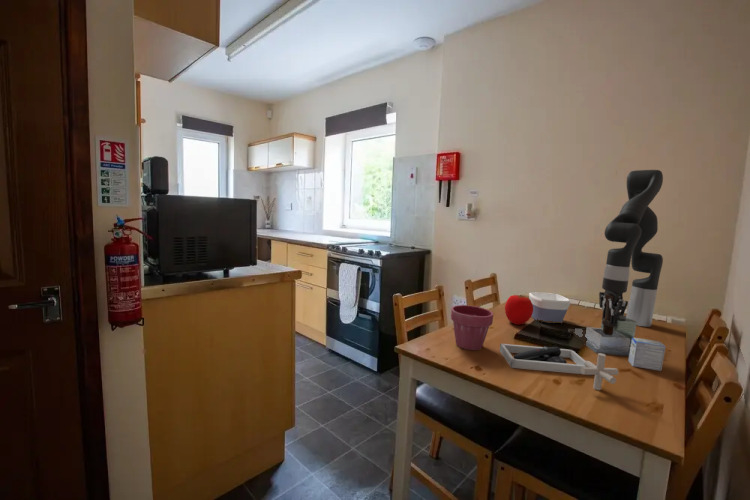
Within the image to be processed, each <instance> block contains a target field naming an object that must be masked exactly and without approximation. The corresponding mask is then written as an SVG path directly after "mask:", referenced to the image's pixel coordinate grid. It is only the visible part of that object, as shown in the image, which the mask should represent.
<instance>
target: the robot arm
mask: <svg viewBox="0 0 750 500" xmlns="http://www.w3.org/2000/svg"><path fill="white" fill-rule="evenodd" d="M663 175H664V174H663V172H662V171H661V170H659V169H641V170H639V169H638V170H631V171H629V173H628V174H627V177H626V191H627V198H628V200H627V201H626V202H625V203H624V204H623V205H622V207H621V210H620V211H619V214H618V215H616V216H615V217H614V219H612V220H611V221H610V222H608V224H607V226H606V227H605V229H604V233H603V234H604V237H605V239H606V240H607V241H609V242H614V243H622V244H623V243H624V244H625V245H624V246H622V247H619V248H617V247H616V248H610V249H609V250H608V251H607V257H606V263H605V267H604V271H603V278H602V286H601V288H602V289H603V290H604V291H600V292H599V293H598V296H599V301H598V302H599V304H598V305H599V308H601V310H602V315H601V320H602V319H603V318H605V311H606V305H607V299H606V298H604V297H605V293H608V294H610V295H613V296H614V300H611V297H610V299H608V300H609V308H610V309H611V317H610V325H611V326H617V322H618V317H619V316H623V315H624V316H626V318H629V319H631V320H634V321H636V322H637V323H636V326H638V327H645V328H650V327H652V323H653V318H654V310H655V305H656V298H657V292H658V286H659V281H660V276H661V271H662V267H663V263H664V262H663V261H664V257H663V255H662V254H659V253H652V252H645V251H642V250H643V248H644V247H645V246H646V244H647V243H649V242H650V241H651V240H652V239H653V238H654V237H655V236H656V235H657V232H658V230H659V229H658V227H659V226H658V217H657V215H656V213H655V211H653V210H652V208H650V206H649V205H650V204H651V203H652V202H653V200H654V199H655V198H656V196H657V195H658V194H659V192H660V191H661V188H662V186H663V184H664V183H663V182H664V176H663ZM630 267H631V268H632V270H633V271H634V272H635V271H636V272H638V273H645V274H649V276H647V277H643V278H637V279H636V278H635V279H633V281H632V283H631V290H630V297H629V300H628V301H627V300H624V296H623V294H625V293H627V292H628V285H629V279H630ZM614 306H617V307H614ZM614 309H616V310H615V312H614ZM625 312H626V315H625Z"/></svg>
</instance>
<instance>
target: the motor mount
mask: <svg viewBox="0 0 750 500" xmlns="http://www.w3.org/2000/svg"><path fill="white" fill-rule="evenodd" d="M636 323H637V322H636V321H634V320H631V319H629V318H626V315H625V314H624V315H623V316H619V317H618V322H617V326H616V327H614V328H613V335H606V334H604V333H603V324H602V323H601V325H600V327H592V326H591V327H589V326H587V327H586V334H585V337H586V338H587V341H586V345H585V346H586V347H588V348H589V349H590V350H591V351H592V352H594V353H595V354H598V353H602V354H605V355H612V356H613V355H615V356H625V357H627V356H628V357H629V353H630V347H631V341H632V338H635V334H636V330H637V329H636V328H637V325H636ZM574 328H575V327H574ZM582 329H583V328H575V332H574V333H575V334H576V335H578V336H579V337H582V336H583V334H582V332H583V330H582Z"/></svg>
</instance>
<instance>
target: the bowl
mask: <svg viewBox="0 0 750 500" xmlns="http://www.w3.org/2000/svg"><path fill="white" fill-rule="evenodd" d="M528 297H529V299H530V300H531V302H532V304H533V314H532V316H531V318H532V319H534V320H535V321H537V319H538V320H543V321H553V322H561V324H562V323H563V321H564V319H565V316H566V314H567V311H568V310H569V307H570V305H571V301H570V299H569V298H567V297H565V296H563V295H560V294H557V293H551V292H539V291H537V292H536V291H532V292H529V294H528Z"/></svg>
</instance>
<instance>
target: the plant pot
mask: <svg viewBox="0 0 750 500" xmlns="http://www.w3.org/2000/svg"><path fill="white" fill-rule="evenodd" d="M450 319H451V320H452V323H453V332H454V333H453V334H454V339H455V344H456V346H458V347H460V348H462V349H465V350H468V351H469V350H470V351H479V350H481V349H482V348H483V346H484V343H485V340H486V337H487V334H488V332H489V328H490V326H492V325H493V322H494V321H493V320H494V313H493V311H491V310H490V309H487V308H484V307H481V306H480V307H479V306H476V305H470V304H469V305H467V304H460V305H459V304H458V305H454V306H452V307H451V312H450Z"/></svg>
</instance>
